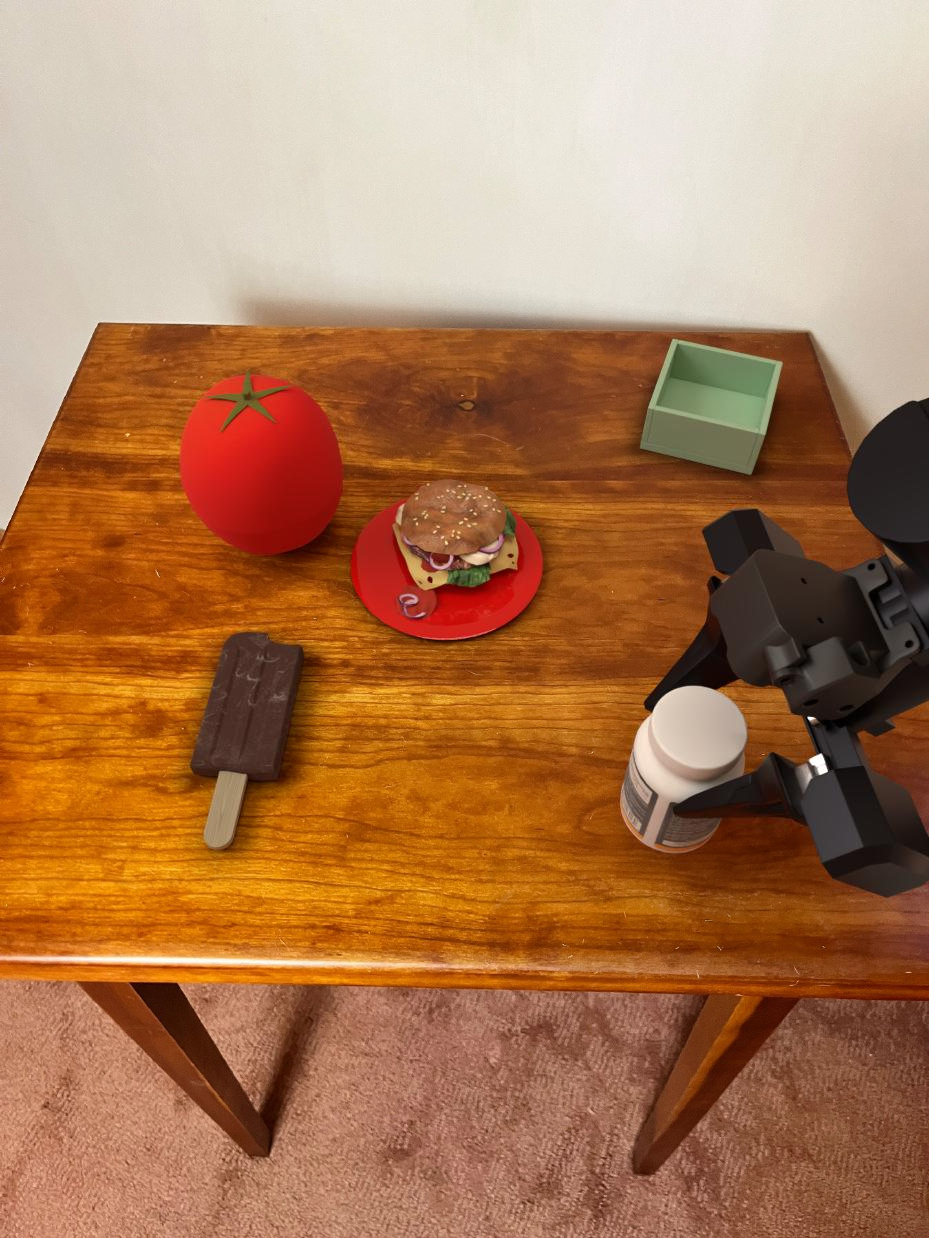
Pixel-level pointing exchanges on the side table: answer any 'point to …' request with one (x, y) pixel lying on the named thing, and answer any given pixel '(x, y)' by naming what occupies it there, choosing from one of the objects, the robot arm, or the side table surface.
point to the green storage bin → (711, 406)
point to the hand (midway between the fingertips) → (662, 758)
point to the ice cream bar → (245, 724)
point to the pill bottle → (681, 765)
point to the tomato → (261, 464)
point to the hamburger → (447, 562)
